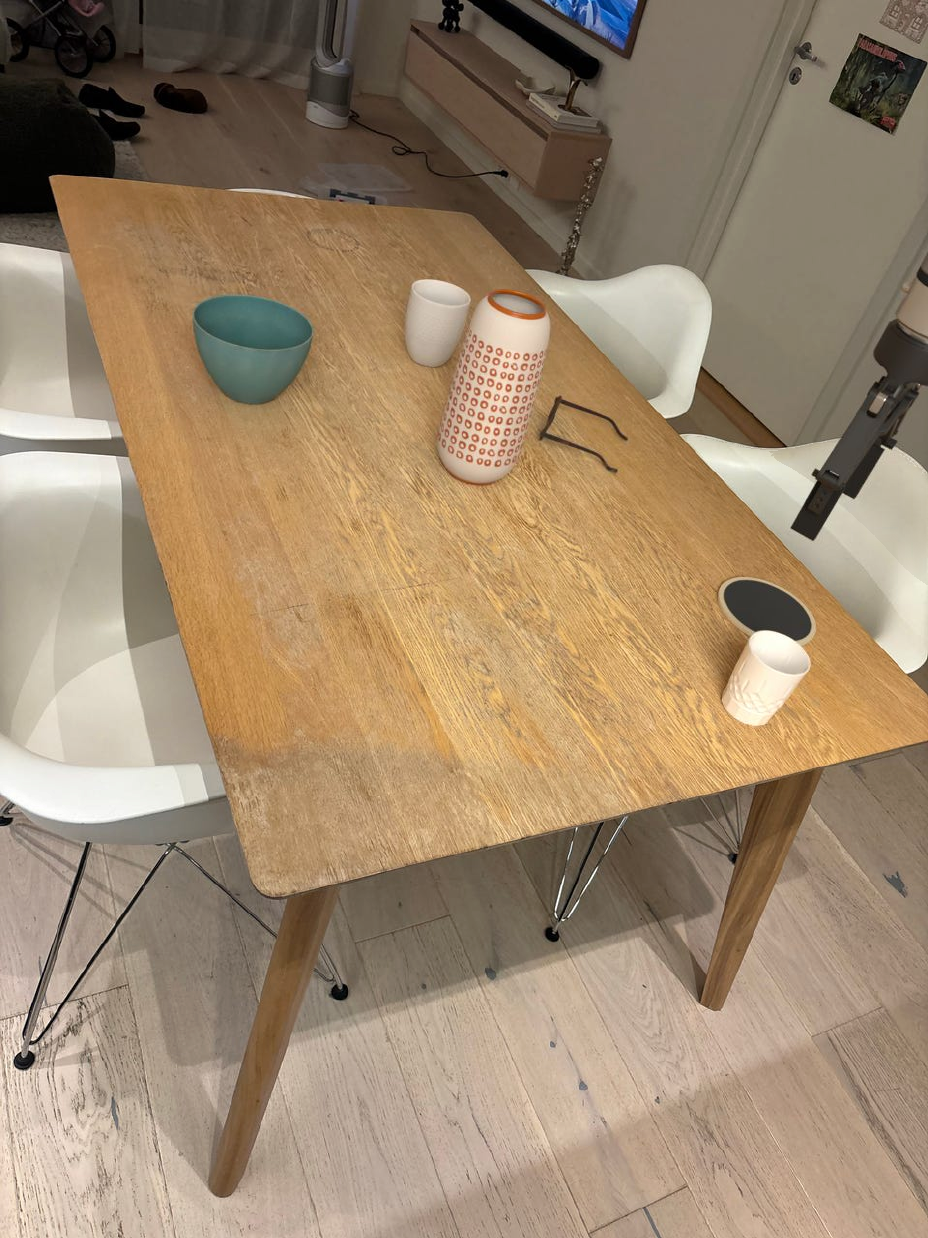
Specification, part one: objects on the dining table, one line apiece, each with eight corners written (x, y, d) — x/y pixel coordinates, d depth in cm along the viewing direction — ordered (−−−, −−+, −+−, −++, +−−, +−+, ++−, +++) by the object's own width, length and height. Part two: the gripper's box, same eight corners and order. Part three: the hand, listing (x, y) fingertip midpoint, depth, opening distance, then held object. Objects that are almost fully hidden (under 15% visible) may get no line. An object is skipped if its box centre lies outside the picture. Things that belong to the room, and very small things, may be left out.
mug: (384, 334, 176) (396, 267, 168) (436, 336, 181) (451, 271, 172) (409, 372, 167) (423, 304, 158) (464, 374, 171) (480, 307, 163)
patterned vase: (527, 476, 149) (580, 311, 131) (481, 504, 140) (531, 331, 122) (462, 438, 153) (505, 274, 135) (413, 463, 144) (453, 290, 126)
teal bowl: (310, 425, 145) (320, 354, 138) (190, 416, 140) (193, 341, 132) (299, 370, 158) (307, 302, 150) (189, 359, 152) (191, 287, 144)
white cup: (786, 719, 119) (823, 665, 112) (748, 738, 114) (784, 682, 108) (743, 678, 123) (776, 623, 116) (704, 694, 118) (736, 639, 112)
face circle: (832, 626, 137) (834, 623, 136) (782, 661, 128) (784, 658, 127) (750, 568, 144) (752, 565, 143) (698, 598, 134) (699, 595, 134)
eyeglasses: (551, 411, 168) (558, 387, 165) (627, 438, 167) (637, 414, 164) (534, 447, 157) (543, 421, 154) (617, 475, 156) (627, 450, 153)
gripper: (926, 294, 98) (831, 462, 111) (852, 342, 81) (750, 534, 94) (994, 324, 95) (888, 492, 109) (933, 380, 78) (816, 572, 92)
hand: (824, 512), depth 101 cm, fingers open, 13 cm apart
